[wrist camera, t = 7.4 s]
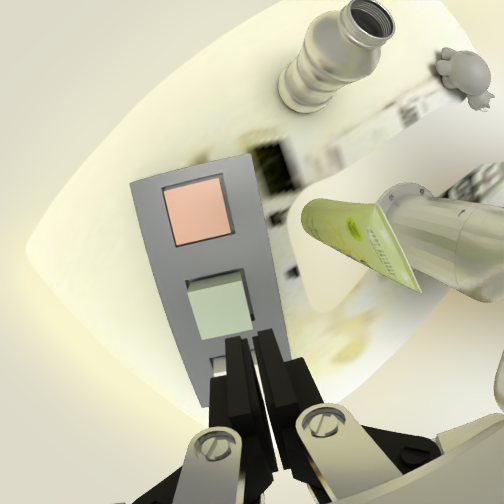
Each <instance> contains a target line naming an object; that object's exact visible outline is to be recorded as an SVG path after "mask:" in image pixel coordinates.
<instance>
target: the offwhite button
mask: <svg viewBox="0 0 504 504" xmlns="http://www.w3.org/2000/svg"><path fill="white" fill-rule="evenodd" d="M251 355H252V359H253V363H254V366H255V370H256V374H257V378H258V382H259V385H260V389H261V393H262V397H263V400H265V397H264V393H263V388H262V383H261V379H260V374H259V369H258V364H257V359H256V355H255V350H252V351H251ZM213 374H214V377H217V376H223V375H226V356H224V357H219V358H214V367H213Z"/></svg>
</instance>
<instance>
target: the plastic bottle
mask: <svg viewBox="0 0 504 504" xmlns="http://www.w3.org/2000/svg"><path fill="white" fill-rule="evenodd" d="M394 32H395V23H394V20H393V18H392V16H391V14H390V13H389V12H388V10H387V9H386V8H385V7H384V6H382V5H381V4H380V3H378V2H376V1H374V0H352V1H351V2H350V3H349V4H348V5H347V6H345V7H344V8H343V9H342V10H341V11H329V12H326V13H324V14H322V15H320V16H318V17H317V18H315V19H314V20H313V21H312V22H311V23H310V26H309V28H308V30H307V32H306V35H305V39H304V43H303V46H302V49H301V51H300V53H299V55H298V56H297V57H296V59H295V60H294V61H292V62H291V63H290V64H288V65H287V66H286V67H285V68H284V69H283V71H282V72H281V74H280V77H279V83H278V89H279V94H280V96H281V98H282V100H283V101H284V103H285V104H286V105H287V106H288V107H290V108H291V109H293V110H295V111H297V112H301V113H311V112H315V111H318V110H320V109H322V108H324V107H325V106H326V105H327V104H328V102H329V101H330V99H331V98H332V96H333V94H334V93H335V92H336V91H337V90H338V89H340V88H341V87H343V86H345V85H347V84H349V83H352V82H355V81H358V80H360V79H362V78H364V77H366V76H368V75H370V74H371V73H372V72H373V71H374V70H375V68H376V66H377V64H378V62H379V59H380V55H381V46H382V45H383V44H385V42H386V41H387V40H388V39H390V38H391V37H392V36H393V34H394Z"/></svg>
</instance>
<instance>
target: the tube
mask: <svg viewBox="0 0 504 504" xmlns="http://www.w3.org/2000/svg"><path fill="white" fill-rule="evenodd" d="M301 222H302V226H303V228H304V230H305V231H306V232H307V233H308V234H309V235H311V236H312V237H314V238H316V239H317V240H319V241H321V242H323V243H324V244H326V245H328V246H330V247H332V248H334V249H336V250H337V251H339V252H341V253H343V254H345V255H346V256H348V257H351V258H352V259H354V260H356V261H358V262H360V263H362V264H364V265H366V266H367V267H369V268H371V269H373V270H375V271H377V272H379V273H381V274H383V275H385V276H387V277H389V278H391V279H393V280H395V281H397V282H399V283H401V284H403V285H405V286H407V287H409V288H411V289H413V290H415V291H418V292H420V293H422V290H421V288H420V286H419V284H418V282H417V280H416V278H415V275H414V273H413V271H412V269H411V267H410V264H409V262H408V260H407V258H406V256H405V254H404V252H403V250H402V247H401V246H400V244H399V242H398V240H397V238H396V236H395V234H394V232H393V230H392V228H391V226H390V224H389V222H388V220H387V218H386V216H385V214H384V213H383V211H382V209H381V207H380V205H377V204H360V203H349V202H341V201H334V200H328V199H315V200H312V201H310V202H309V203H308V204H307V205H306V206H305V207H304V209H303V211H302V214H301Z"/></svg>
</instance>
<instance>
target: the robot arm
mask: <svg viewBox="0 0 504 504" xmlns="http://www.w3.org/2000/svg"><path fill="white" fill-rule="evenodd" d="M388 196H389V198H388ZM376 204H377V205H380V207H381V209H382V211H383V213H384V214H385V216H386V218H387V220H388V222H389V224H390V226H391V228H392V230H393V232H394V234H395V236H396V238H397V240H398V242H399V244H400V246H401V247H402V250H403V252H404V254H405V256H406V258H407V260H408V262H409V264H410V267H411V269H412V271H413V270H416V269H417V270H419V271H421V272H423V273H425V274H427V275H429V276H431V277H433V278H435V279H437V280H439V281H441V282H442V283H444V284H446V285H448V286H450V287H452V288H454V289H456V290H458V291H460V292H461V293H463V294H466V295H467V296H469V297H471V298H473V299H475V300H477V301H480V302H486V303H487V302H489V303H491V302H496V301H499V300H502V299H504V208H503V207H497V206H492V205H486V204H480V203H474V202H467V201H461V200H454V199H447V198H439V197H434V196H433V195H432V194H431V193H430V192H429V191H428V190H427V189H426V188H425V187H423V186H421V185H419V184H415V183H401V184H397V185H395V186H392V187H391V188H390V189H388V190H387V191H386V192H385V193H384V194H383V195H382V196H381V197H380V199H379V200H378V202H377V203H376ZM257 334H258V336H254V337H252V340H253V345H254V350H255V355H256V359H257V364H258V369H259V374H260V379H261V383H262V388H263V393H264V397H265V402H266V406H267V411H268V415H269V418H270V422H271V426H272V429H273V433H274V437H275V440H276V444H277V447H278V451H279V454H280V458H281V462H282V465H283V469H284V470H286V469H291V471H292V475H293V478H294V479H296V480H299V481H301V482H304V483H307V487H308V489H309V491H310V493H311V495H312V497H313V498H314V500H315V502H316V504H504V415H503V414H499V413H494V414H490V415H487V416H485V417H482V418H480V419H477V420H475V421H473V422H470V423H467V424H465V425H462V426H459V427H457V428H454V429H451V430H448V431H445V432H442V433H439V434H437V436H436V438H434V439H428V438H425V437H420V436H414V435H408V434H402V433H397V432H391V431H386V430H381V429H377V428H372V427H367V426H363V425H360V424H359V423H358V422H357V421H356V419H355V418H354V417H353V416H352V415H351V413H350V412H349V411H348V410H347V409H346V408H344V407H343V406H340V405H338V404H333V403H324V402H323V400H322V397H321V395H320V393H319V391H318V389H317V387H316V384H315V382H314V380H313V378H312V376H311V374H310V371H309V369H308V367H307V365H306V363H305V361H304V359H303V358H302V357H301V358H297V359H294V360H290V361H286V362H284V361H283V358H282V355H281V352H280V349H279V347H278V344H277V341H276V338H275V335H274V332H273V329H272V328H270V329H266V330H262V331H258V332H257ZM225 354H226V375H223V376H217V377H212V378H210V396H209V428H208V429H206V430H203V431H201V432H200V433H198V434H197V435H195V436H194V437H193V438H192V440H191V441H190V443H189V445H188V448H187V452H186V456H185V459H184V463H183V466H181V467H180V468H179V469H177V470H176V471H175V472H174V473H172V474H171V475H170V476H168V477H167V478H166V479H164V480H163V481H162V482H160V483H159V484H157V485H156V486H155V487H153V488H152V489H151V490H149V491H148V492H146V493H145V494H143V495H142V496H141V497H139V498H138V499H136V500H135V501H134V502H133V503H132V504H265V497H264V491H265V490H266V489H267V488H268V487H269V486H270V485H271V483H272V481H274V480H273V475H272V473H273V472H277V471H278V467H277V462H276V457H275V453H274V448H273V443H272V439H271V434H270V429H269V425H268V420H267V415H266V410H265V406H264V401H263V397H262V393H261V389H260V385H259V382H258V378H257V374H256V370H255V366H254V363H253V359H252V355H251V351H250V347H249V343H248V339H247V338H245V339H241V336H235V337H231V338H226V339H225ZM494 396H495V399H496V402H497V404H498V406H499V407H500V409H501V410H502V411H503V412H504V351H503V354H502V357H501V360H500V363H499V366H498V369H497V372H496V376H495V381H494ZM116 504H125V503H116Z"/></svg>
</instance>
